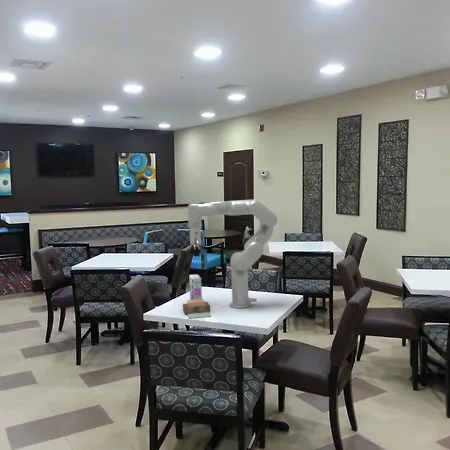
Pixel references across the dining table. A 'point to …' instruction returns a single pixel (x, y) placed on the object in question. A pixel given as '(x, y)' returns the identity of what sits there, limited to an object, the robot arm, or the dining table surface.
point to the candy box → (195, 287)
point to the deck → (196, 309)
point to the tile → (196, 302)
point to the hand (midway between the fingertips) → (195, 254)
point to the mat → (199, 315)
